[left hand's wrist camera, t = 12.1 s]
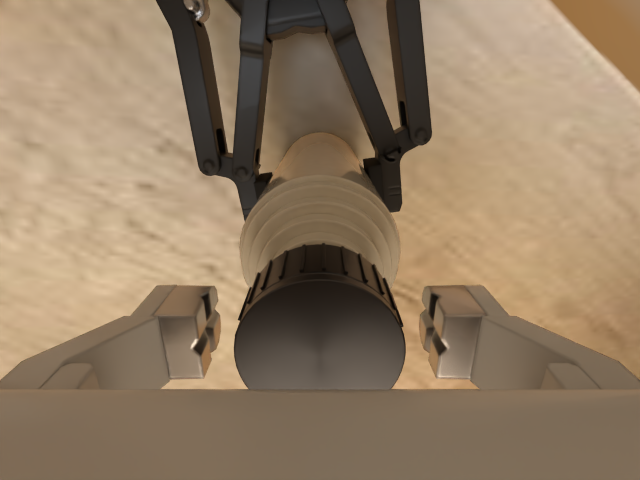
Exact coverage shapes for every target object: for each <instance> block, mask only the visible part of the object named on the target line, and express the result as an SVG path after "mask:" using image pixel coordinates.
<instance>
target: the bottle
mask: <svg viewBox="0 0 640 480" xmlns="http://www.w3.org/2000/svg"><path fill="white" fill-rule="evenodd" d="M322 243H325V244H327V245H334V246H339V247H341V246H344V247H345V248H346V249H348V250H351V251H353V252H355V253H357V254H359V253H360V254H362V257H364V258H365V259H366V260H368V261H369V262H370V263H371V264H372V265H373V264H375V265H376V267H377V270H378V271H379V273H380V274H381V276H382V277H383V278H386V280H387V283H388V285H389V288H390V289H391V287H392V285H393V283H394V280H395V278H396V274H397V270H398V264H399V259H400V239H399V233H398V230H397V226H396V223H395V221H394V219H393V217H392V215H391V213H390V212H389V210H388V208H387V207H386V205H385V203H384V202H383V200H382V198H381V197H380V195H379V193H378V192H377V190H376V188H375V187H374V185H373V183H372V182H371V180H370V178H369V177H368V175H367V174H366V172H365V170H364V169H363V167H362V165H361V164H360V162H359V160H358V159H357V157H356V155H355V154H354V152H353V150H352V149H351V147H350V146H349V145H348V144H347V143H346V142H345V141H344V140H343V139H341V138H339V137H338V136H336V135H333V134H330V133H325V132H316V133H310V134H307V135H305V136H303V137H301V138H299V139H298V140H297V141H295V142H294V143H293V144H292V145H291V147H290V148H289V149H288V151H287V153H286V154H285V156H284V158H283V159H282V161H281V162H280V164H279V166H278V167H277V169H276V171H275V172H274V174H273V176H272V177H271V179H270V180H269V182H268V184H267V185H266V187H265V189H264V190H263V192H262V194H261V195H260V197H259V198H258V200H257V202H256V203H255V205H254V207H253V208H252V210H251V212H250V213H249V215H248V217H247V219H246V221H245V224H244V226H243V229H242V233H241V237H240V259H241V265H242V270H243V275H244V278H245V281H246V283H247V285H248V287H249V288H250V287H252V286H253V283H254V280H255V277H256V275H257V273H258V272H259V273H260V272H261V271H262V270H263V269H264V267H265V266H266V265H267V264H268V261H269V260H270V259H271V260H273V259H275V258H276V257H278V256H279V255H281V254H283V253H284V251H285V250H287V251H289V250H291V249H294V248H297V247H301V246H302V245H304V244H306V245H314V244H322Z"/></svg>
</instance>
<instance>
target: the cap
mask: <svg viewBox="0 0 640 480" xmlns="http://www.w3.org/2000/svg"><path fill="white" fill-rule="evenodd" d="M238 320H240V323H239V325H238V328H237V331H236V334H235V342H234V358H235V362H236V366H237V369H238V372H239V374H240V376H241V378H242V380H243V382H244V383H245V385H246V386H247V387H248V389H391V388H392V387H393V386H394V384H395V383H396V381H397V380H398V378H399V375H400V373H401V371H402V368H403V365H404V361H405V354H406V347H405V338H404V333H403V331H402V328H401V327H403V323H402V320H401V317H400V315H399V312H398V309H397V306H396V304H395V301H394V298H393V295H392V293H391V291H390V288H389V285H388V283H387V280H386V278H383V277H382V276H381V274H380V273H379V271H378V270H377V267H376V265H375V264H373V265H372V264H371V263H370V262H369V261H368V260H366V259H365V258H364V257H362V254H360V253H359V254H357V253H355V252H353V251H351V250H348V249H346V248H345V247H344V246H341V247H339V246H334V245H327V244H325V243H322V244H314V245H306V244H304V245H302V246H301V247H297V248H294V249H291V250H289V251H287V250H285V251H284V253H283V254H281V255H279V256H278V257H276V258H275V259H273V260H271V259H270V260H269V261H268V264H267V265H266V266H265V267H264V269H263V270H262V271H261V272H260V273H259V272H258V273H257V275H256V277H255V280H254V283H253V286H252V287H250V288H249V291H248V294H247V296H246V299H245V302H244V305H243V307H242V310H241V313H240V315H239V318H238Z"/></svg>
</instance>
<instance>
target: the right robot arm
mask: <svg viewBox="0 0 640 480" xmlns="http://www.w3.org/2000/svg"><path fill="white" fill-rule="evenodd" d="M156 1H157V3H158V5H159V7H160V9H161V11H162V13H163V15H164V17H165V19H166V20H167V22H168V24H169V26H170V28H171V30H172V34H173V39H174V44H175V49H176V54H177V59H178V65H179V70H180V75H181V80H182V85H183V90H184V95H185V100H186V105H187V110H188V115H189V121H190V126H191V131H192V136H193V141H194V146H195V151H196V156H197V161H198V166H199V169H200V171H201V172H202V173H203V174H205V175H208V176H212V175H218V176H222V177H227V178H229V179H231V180H232V181H233V182H234V183H235V184H236V186H237V189H238V193H239V198H240V202H241V207H242V211H243V215H244V220H245V221H246V219H247V217H248V215H249V213H250V212H251V210H252V208H253V207H254V205H255V203H256V202H257V200H258V198H259V197H260V195H261V194H262V192H263V190H264V189H265V187H266V185H267V184H268V182H269V180H270V179H271V177H272V176H273V175H272V172H270V173H263V174H260V175H259V170H258V169H259V168H260V164H259V161H260V151H261V142H262V132H263V122H264V112H265V103H266V93H267V83H268V73H269V64H270V59H271V55H272V46H273V40H279V39H285V38H287V37H289V36H291V35H293V34H295V33H297V32H301V33H308V34H315V33H322V32H325V35H326V37H327V39H328V42H329V44H330V46H331V48H332V50H333V52H334V54H335V57H336V59H337V62H338V64H339V67H340V69H341V71H342V74H343V76H344V79H345V81H346V83H347V86H348V88H349V91H350V93H351V95H352V98H353V100H354V103H355V105H356V107H357V110H358V112H359V115H360V117H361V119H362V122H363V124H364V127H365V129H366V131H367V134H368V136H369V139H370V141H371V144H372V146H373V148H374V150H375V158H368V159H363V164H364V170H365V172H366V174H367V175H368V177H369V178H370V180H371V182H372V183H373V185H374V187H375V188H376V190H377V192H378V193H379V195H380V197H381V198H382V200H383V202H384V203H385V205H386V207H387V208H388V210H389V212H390V213H391V212H398V211H400V208H401V205H402V194H401V177H400V160H401V158H402V156H403V155H404V154H405V153H406V152H407V151H409V150H411V149H413V148H415V147H417V146H418V145H424V144H426V143H427V142H428V141H429V140H430V138H431V136H432V128H431V118H430V107H429V97H428V86H427V75H426V65H425V54H424V44H423V33H422V23H421V12H420V2H419V0H387V5H386V8H387V20H388V28H389V36H390V44H391V52H392V60H393V68H394V77H395V85H396V93H397V101H398V109H399V117H400V125H401V127H399V128H398V129H396V130H393V128H392V125H391V123H390V120H389V117H388V115H387V112H386V110H385V107H384V105H383V102H382V99H381V97H380V94H379V92H378V89H377V87H376V84H375V81H374V79H373V76H372V74H371V71H370V69H369V66H368V63H367V61H366V58H365V56H364V53H363V51H362V48H361V46H360V43H359V40H358V38H357V35H356V31H355V27H354V24H353V21H352V18H351V16H350V13H349V11H348V8H347V6H346V2H347V0H225V1H226V2H227V3H228V4H229V5H230V6H231V8H232V9H233V10H234V11H235V12H236V13H237V14H238V15H239V16H240V17H241V27H240V41H239V45H240V68H239V81H238V94H237V107H236V120H235V134H234V147H233V153H228V149H227V143H226V137H225V131H224V125H223V119H222V113H221V107H220V101H219V95H218V89H217V83H216V77H215V71H214V65H213V59H212V53H211V47H210V42H209V37H208V34H207V31H206V28H205V25H204V22H205V21H207V19H208V18H209V15H210V8H209V4H208V0H156Z"/></svg>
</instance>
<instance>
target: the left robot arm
mask: <svg viewBox="0 0 640 480" xmlns="http://www.w3.org/2000/svg"><path fill="white" fill-rule="evenodd" d="M217 302H218V296H217V290H216V288H215V286H189V285H159V286H156V287H155V288H154V289H153V291H152V292H151V293H150V294H149V295H148V296H147V297H146V299H145V300H144V301H143V302H142V303H141V304H140V305H139V307H138V308H137V309H136V310H135V311H134V312H133V313H132V315H131V316H123V317H121V318H119V319H117V320H114V321H112V322H110V323H107V324H105V325H103V326H101V327H98V328H96V329H94V330H92V331H89V332H87V333H85V334H83V335H80V336H78V337H76V338H73V339H71V340H69V341H67V342H64V343H62V344H60V345H58V346H55V347H53V348H51V349H49V350H46V351H44V352H42V353H40V354H37V355H35V356H33V357H30V358H28V359H26V360H24V361H22V362H20V363H19V364H18V365H17V366H16V367H15V368H14V369H13V370H11V371H10V372H9V373H8V374H7V375H6V376H5V377H3V378H2V379H1V380H0V480H640V380H639V379H638V378H637V377H636V376H634V375H633V374H632V373H631V372H630V371H629V370H628V369H627V368H625V367H624V366H623V365H622V364H621V363H620V362H618V361H616V360H614V359H612V358H609V357H607V356H605V355H602V354H600V353H598V352H596V351H593V350H591V349H589V348H587V347H584V346H582V345H580V344H578V343H575V342H573V341H571V340H569V339H566V338H564V337H562V336H560V335H557V334H555V333H553V332H551V331H548V330H546V329H544V328H542V327H539V326H537V325H535V324H533V323H530V322H528V321H526V320H524V319H521V318H519V317H517V316H509V315H508V313H507V312H506V311H505V310H504V309H503V308H502V307H501V305H500V304H499V303H498V302H497V301H496V300H495V299H494V297H493V296H492V295H491V294H490V293H489V292H488V291H487V289H486V288H485V287H484V286H482V285H465V286H464V285H449V286H426V287H424V290H423V295H422V302H423V304H424V306H425V308H426V309H425V310H424V311H423V312H422V313H421V315H420V322H419V331H420V339H421V343H422V346H423V348H424V350H426V351H427V352H429V363H430V365H431V367H432V370H433V372H434V375H435V377H436V378H437V379H470V381H471V382H472V383H473V384H475V385H476V386H477V387H478V388H479V389H161V388H162V387H163V386H164V385H166V384H167V383H168V382H169V381H170V380H169V379H202V378H204V377H205V375H206V372H207V370H208V368H209V365H210V363H211V352H213V351H214V350H216V348H217V346H218V343H219V339H220V333H221V321H220V315H219V313H218V312H217V311H216V310H215V306H216V304H217Z"/></svg>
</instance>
